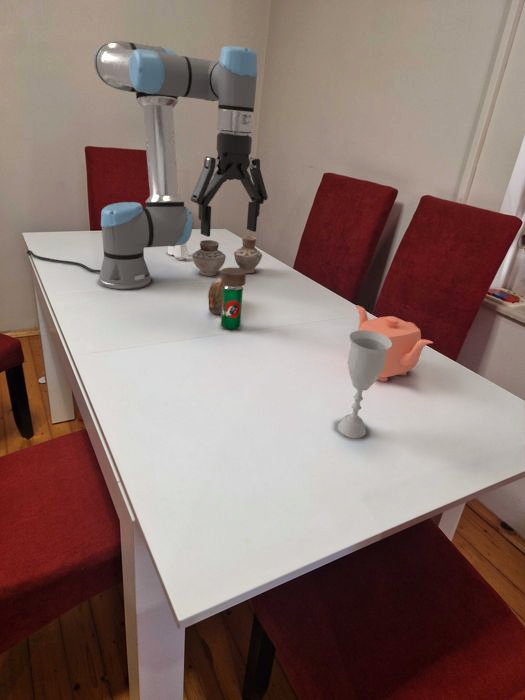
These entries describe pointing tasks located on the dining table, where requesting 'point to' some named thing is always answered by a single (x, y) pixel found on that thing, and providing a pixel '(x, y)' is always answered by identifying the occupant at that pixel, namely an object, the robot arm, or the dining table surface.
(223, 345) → the dining table surface
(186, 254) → the shaker set
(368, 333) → the chalice
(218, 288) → the bread slice
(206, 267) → the pottery
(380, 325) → the teapot
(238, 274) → the brown short cylinder
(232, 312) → the soda can
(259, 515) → the dining table surface
